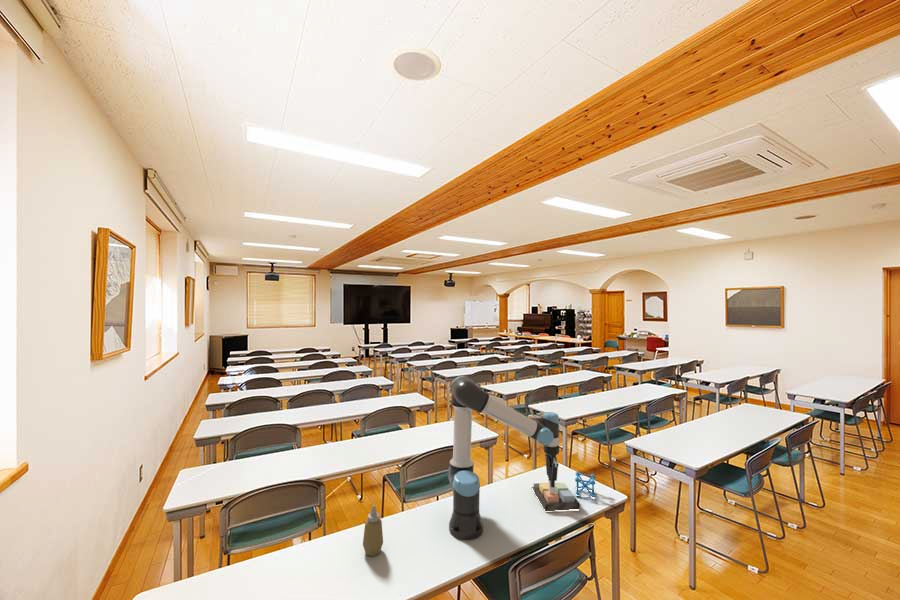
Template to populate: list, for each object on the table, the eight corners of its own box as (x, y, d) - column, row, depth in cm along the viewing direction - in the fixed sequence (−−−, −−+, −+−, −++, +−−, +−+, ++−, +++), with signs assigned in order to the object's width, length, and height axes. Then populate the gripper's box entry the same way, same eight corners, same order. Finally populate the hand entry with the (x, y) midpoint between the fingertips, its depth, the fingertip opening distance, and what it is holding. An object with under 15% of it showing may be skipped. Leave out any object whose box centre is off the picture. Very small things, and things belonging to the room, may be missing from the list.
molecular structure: (595, 492, 196) (595, 473, 197) (595, 501, 187) (595, 481, 187) (575, 489, 200) (575, 470, 200) (574, 497, 191) (574, 478, 191)
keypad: (545, 512, 176) (545, 504, 176) (531, 489, 199) (531, 482, 199) (579, 511, 177) (579, 503, 177) (562, 488, 200) (561, 481, 200)
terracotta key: (547, 502, 178) (547, 496, 178) (544, 497, 183) (544, 491, 183) (558, 502, 178) (558, 496, 178) (554, 496, 184) (554, 490, 184)
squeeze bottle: (360, 548, 148) (361, 503, 148) (380, 543, 151) (381, 499, 151) (364, 560, 140) (365, 513, 141) (385, 555, 143) (385, 508, 144)
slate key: (563, 502, 178) (563, 496, 178) (559, 496, 184) (559, 490, 184) (574, 502, 179) (574, 495, 179) (570, 496, 184) (570, 490, 184)
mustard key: (542, 494, 186) (542, 488, 186) (539, 489, 191) (539, 483, 191) (553, 494, 186) (553, 488, 186) (549, 489, 192) (549, 483, 192)
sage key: (557, 494, 186) (557, 488, 186) (553, 489, 192) (553, 483, 192) (568, 494, 186) (568, 488, 187) (564, 488, 192) (564, 483, 192)
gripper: (563, 449, 175) (564, 498, 175) (554, 439, 188) (554, 486, 188) (548, 449, 175) (548, 499, 174) (539, 440, 188) (540, 486, 187)
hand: (551, 492), depth 181 cm, fingers closed
